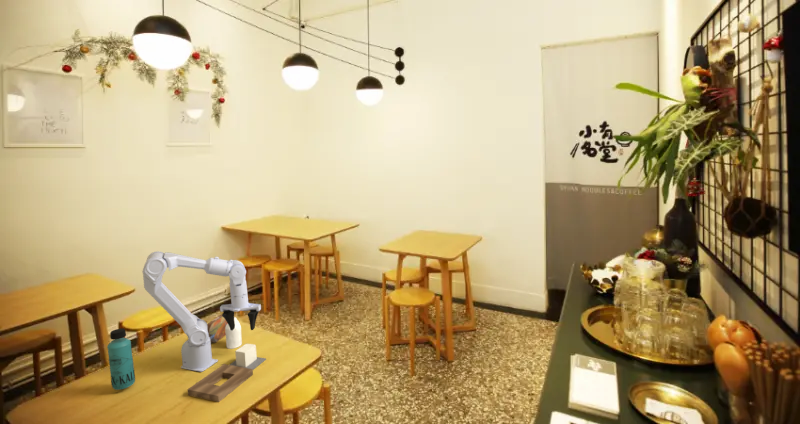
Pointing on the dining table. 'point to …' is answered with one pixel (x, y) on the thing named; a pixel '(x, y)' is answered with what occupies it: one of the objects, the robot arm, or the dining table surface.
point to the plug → (246, 355)
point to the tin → (217, 328)
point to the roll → (233, 335)
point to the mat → (253, 364)
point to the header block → (217, 393)
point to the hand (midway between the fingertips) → (242, 329)
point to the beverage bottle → (120, 360)
